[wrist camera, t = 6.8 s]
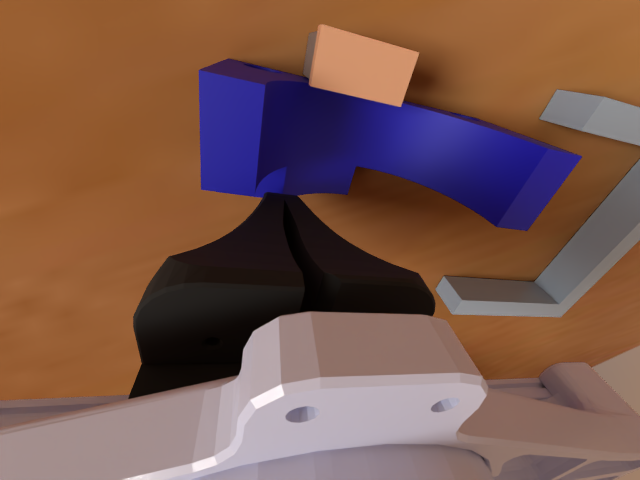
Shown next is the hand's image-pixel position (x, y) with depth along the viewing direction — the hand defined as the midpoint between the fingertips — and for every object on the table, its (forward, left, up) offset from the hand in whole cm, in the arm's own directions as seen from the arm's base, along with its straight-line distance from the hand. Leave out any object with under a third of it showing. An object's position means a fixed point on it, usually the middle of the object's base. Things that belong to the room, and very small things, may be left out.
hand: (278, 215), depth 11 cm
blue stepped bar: (+3, -4, -4) cm, 6 cm away
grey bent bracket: (0, -18, -3) cm, 18 cm away
